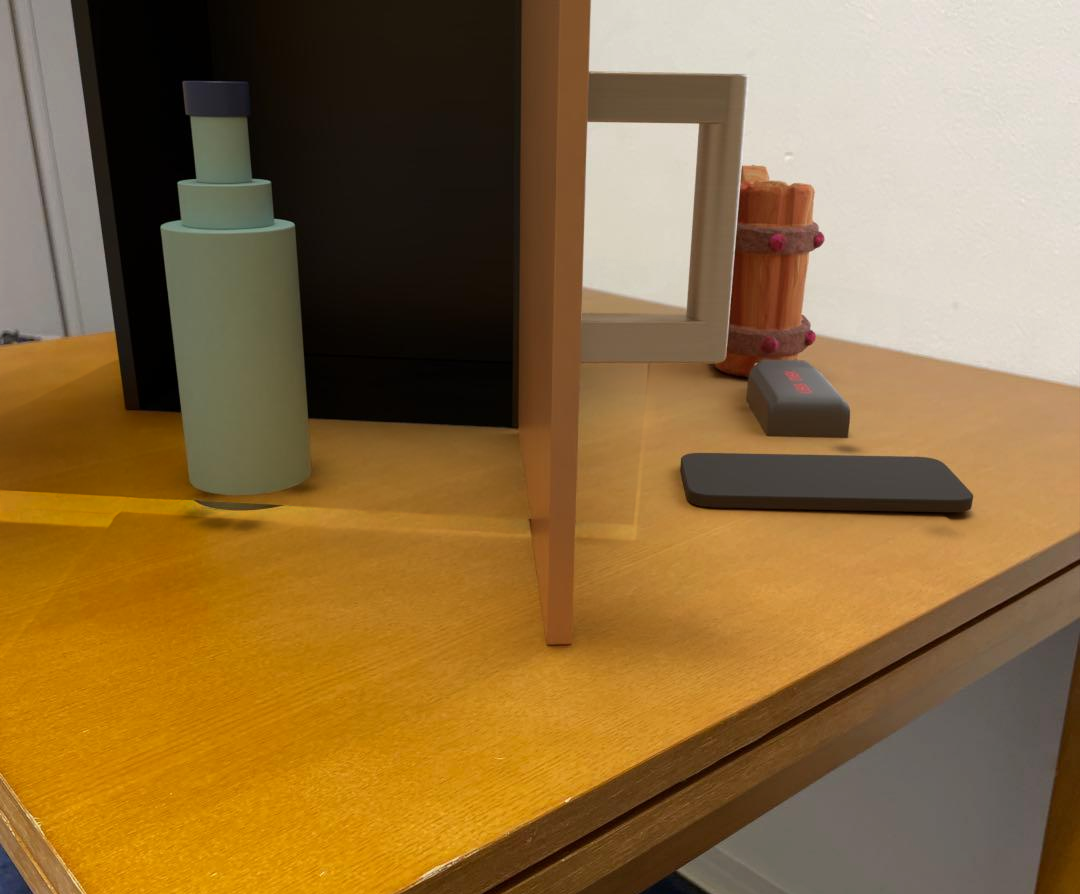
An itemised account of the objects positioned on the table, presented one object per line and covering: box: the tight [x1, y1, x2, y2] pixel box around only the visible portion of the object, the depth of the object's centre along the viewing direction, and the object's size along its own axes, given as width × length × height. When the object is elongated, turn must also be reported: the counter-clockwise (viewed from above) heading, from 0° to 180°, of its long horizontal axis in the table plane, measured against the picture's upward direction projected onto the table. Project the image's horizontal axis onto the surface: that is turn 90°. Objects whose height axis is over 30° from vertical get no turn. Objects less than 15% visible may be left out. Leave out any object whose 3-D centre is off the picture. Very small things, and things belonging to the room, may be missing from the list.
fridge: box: [70, 0, 522, 430], centre depth 71 cm, size 18×26×32 cm
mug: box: [713, 164, 825, 379], centre depth 86 cm, size 15×8×15 cm, turn 0°
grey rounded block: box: [745, 359, 851, 439], centre depth 75 cm, size 5×12×3 cm, turn 179°
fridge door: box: [517, 0, 750, 645], centre depth 49 cm, size 7×26×32 cm, turn 4°
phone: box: [679, 452, 974, 513], centre depth 60 cm, size 7×1×15 cm
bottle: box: [161, 81, 313, 512], centre depth 55 cm, size 6×6×20 cm
